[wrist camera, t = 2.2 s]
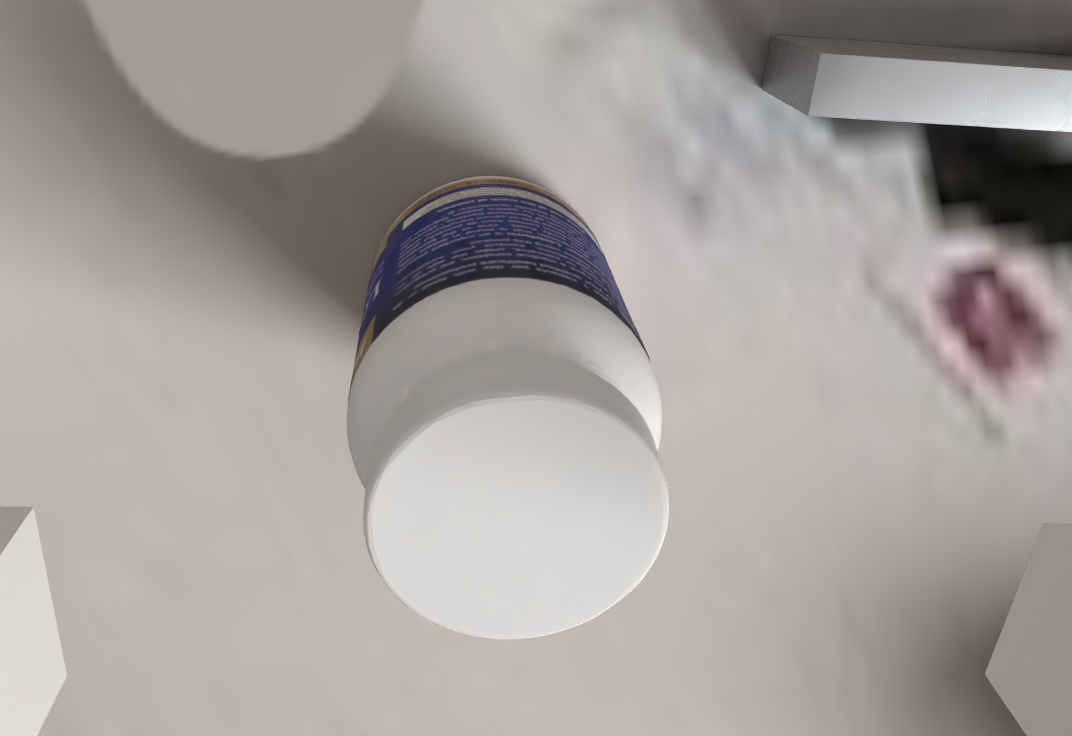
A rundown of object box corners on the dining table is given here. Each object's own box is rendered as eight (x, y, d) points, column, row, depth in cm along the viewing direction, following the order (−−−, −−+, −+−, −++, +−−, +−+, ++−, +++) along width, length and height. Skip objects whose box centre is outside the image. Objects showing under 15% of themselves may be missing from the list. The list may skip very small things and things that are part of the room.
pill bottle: (331, 220, 22) (257, 438, 13) (560, 133, 21) (647, 295, 12) (425, 417, 24) (418, 712, 15) (631, 343, 24) (746, 602, 15)
